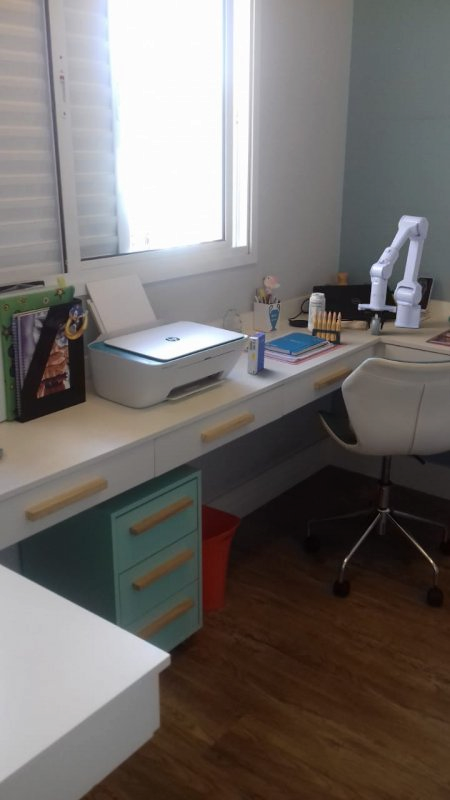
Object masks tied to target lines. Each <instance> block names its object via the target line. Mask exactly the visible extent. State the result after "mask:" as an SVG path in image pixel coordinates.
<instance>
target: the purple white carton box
mask: <svg viewBox="0 0 450 800" xmlns="http://www.w3.org/2000/svg"><path fill="white" fill-rule="evenodd" d="M265 346H266V333H264V332H258V331H257V332H256V333H254V334H252V335H251V336H250V337H248V347H247V348H248V349H247V351H248V352H247V371H246V372H247V373H248V374H251V375H255V374H257V373H258V372H260V371H261V370H262V369H264V367H265V348H266V347H265Z"/></svg>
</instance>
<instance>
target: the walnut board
mask: <svg viewBox="0 0 450 800" xmlns="http://www.w3.org/2000/svg"><path fill="white" fill-rule="evenodd" d="M367 323H368V321H365V320H353V321H341V329H343V330H355V331H367ZM336 326H337V322H336Z"/></svg>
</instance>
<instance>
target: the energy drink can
mask: <svg viewBox="0 0 450 800" xmlns="http://www.w3.org/2000/svg"><path fill="white" fill-rule="evenodd" d="M308 307H309V308H308V323H307V330H308V332H309V333H311V334H312V330H313V320H314V314H315V311H316V310H317V326H318V319H319V313H320V311H321V312H322V322H323V317H324V312H325V311H326V310H325V309H326V297H325V293H321V292H313V293H311V295H310V297H309V306H308Z"/></svg>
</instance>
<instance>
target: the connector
mask: <svg viewBox="0 0 450 800" xmlns="http://www.w3.org/2000/svg"><path fill="white" fill-rule="evenodd" d="M374 315H375V316H371V322H370V335H371V336H375V337H377V336H379V335H380V327H381V317H378V316H379V314H378V313H375V314H374Z"/></svg>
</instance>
